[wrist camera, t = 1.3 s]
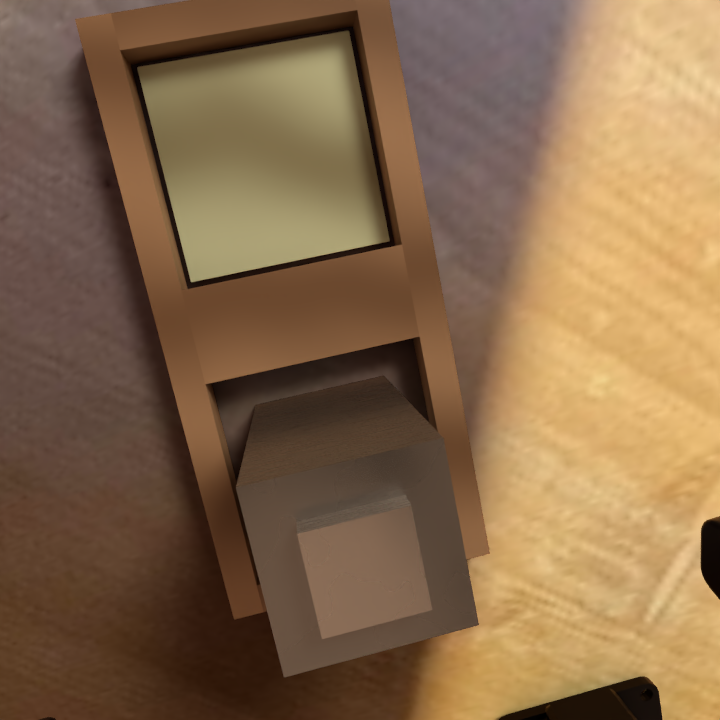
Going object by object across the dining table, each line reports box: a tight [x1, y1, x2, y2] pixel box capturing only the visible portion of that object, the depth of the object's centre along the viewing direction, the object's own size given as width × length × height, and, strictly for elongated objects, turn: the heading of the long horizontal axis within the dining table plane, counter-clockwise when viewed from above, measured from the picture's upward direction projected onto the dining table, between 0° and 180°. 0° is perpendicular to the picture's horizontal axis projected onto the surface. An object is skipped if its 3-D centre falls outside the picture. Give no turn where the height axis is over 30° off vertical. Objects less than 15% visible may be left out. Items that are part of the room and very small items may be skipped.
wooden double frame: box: [75, 0, 490, 620], centre depth 19 cm, size 19×9×1 cm, turn 12°
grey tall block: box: [236, 376, 479, 677], centre depth 17 cm, size 4×4×9 cm
